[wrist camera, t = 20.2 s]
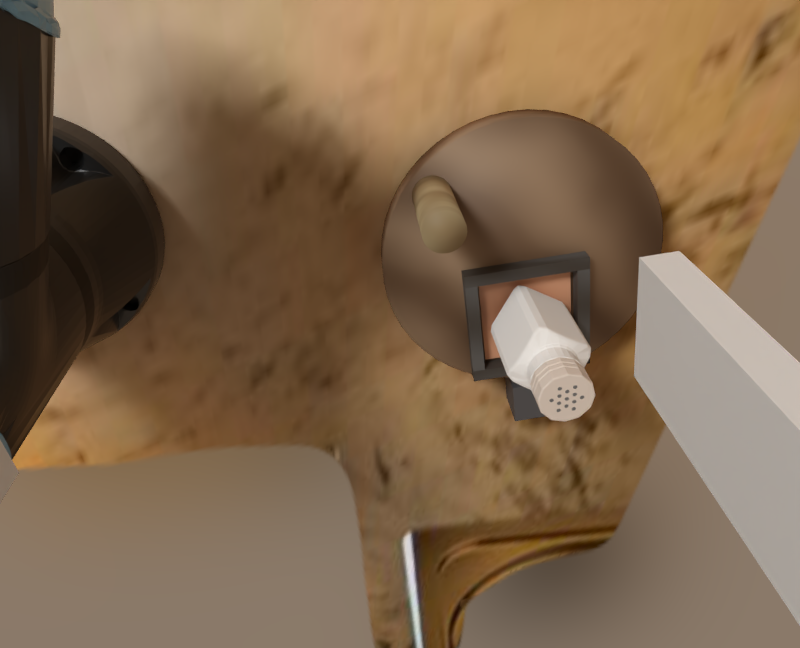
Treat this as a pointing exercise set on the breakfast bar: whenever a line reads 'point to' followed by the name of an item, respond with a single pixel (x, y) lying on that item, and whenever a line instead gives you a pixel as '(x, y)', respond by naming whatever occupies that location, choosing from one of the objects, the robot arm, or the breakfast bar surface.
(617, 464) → the breakfast bar surface
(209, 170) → the breakfast bar surface
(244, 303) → the breakfast bar surface
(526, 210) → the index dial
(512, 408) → the charcoal grey block
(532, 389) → the pepper shaker
